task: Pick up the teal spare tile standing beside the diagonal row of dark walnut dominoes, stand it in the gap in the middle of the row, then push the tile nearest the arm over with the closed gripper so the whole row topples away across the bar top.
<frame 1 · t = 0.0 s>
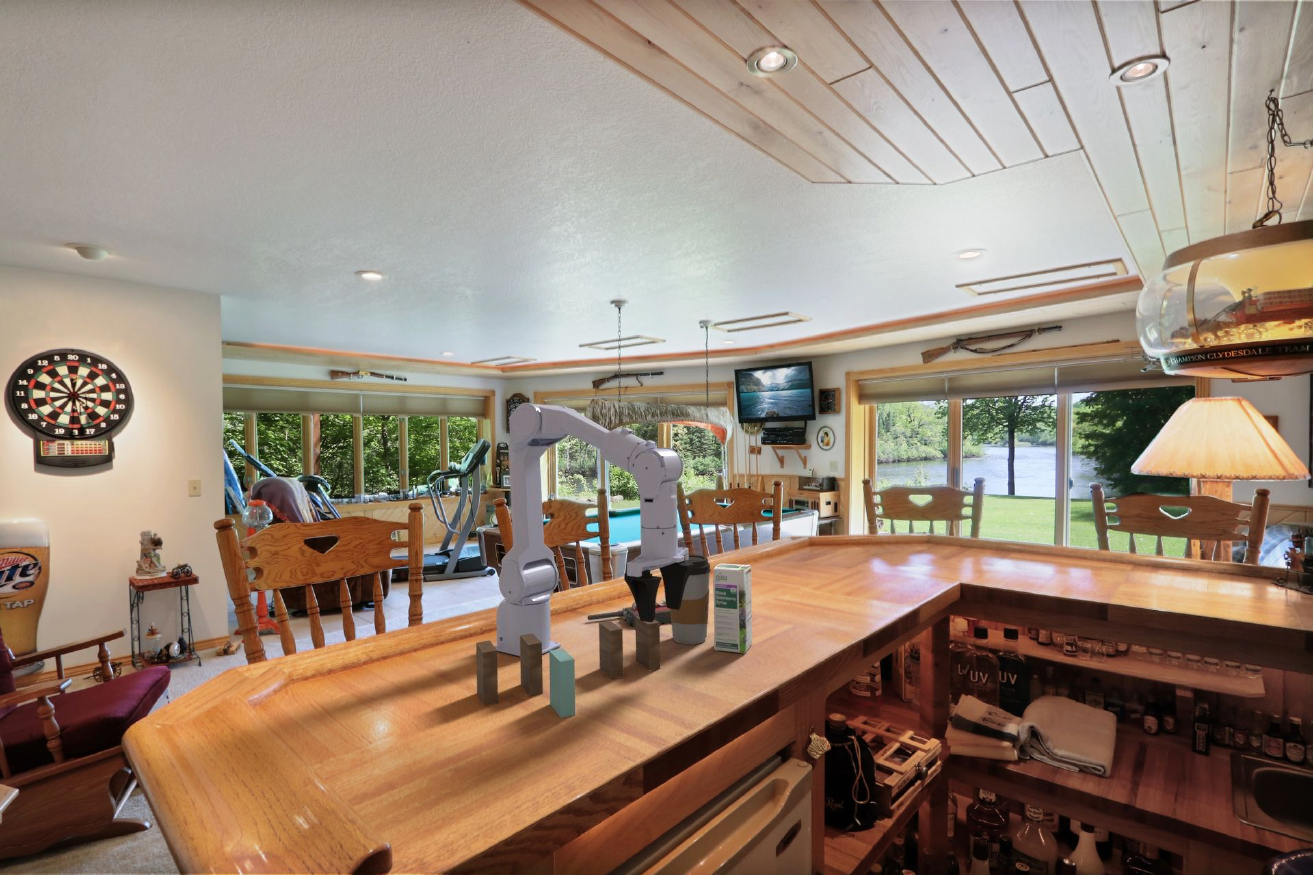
hand: (660, 614, 93), 10 cm above the bar counter, tool pointing down, fingers open, 7 cm apart
domino 2: (531, 688, 91), on the bar counter
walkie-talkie: (638, 623, 125), on the bar counter
domino 4: (611, 672, 97), on the bar counter
coffee cup: (689, 640, 112), on the bar counter
syrup box: (733, 648, 107), on the bar counter
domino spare: (562, 709, 84), on the bar counter
domino 5: (648, 664, 100), on the bar counter
domino 1: (487, 697, 88), on the bar counter
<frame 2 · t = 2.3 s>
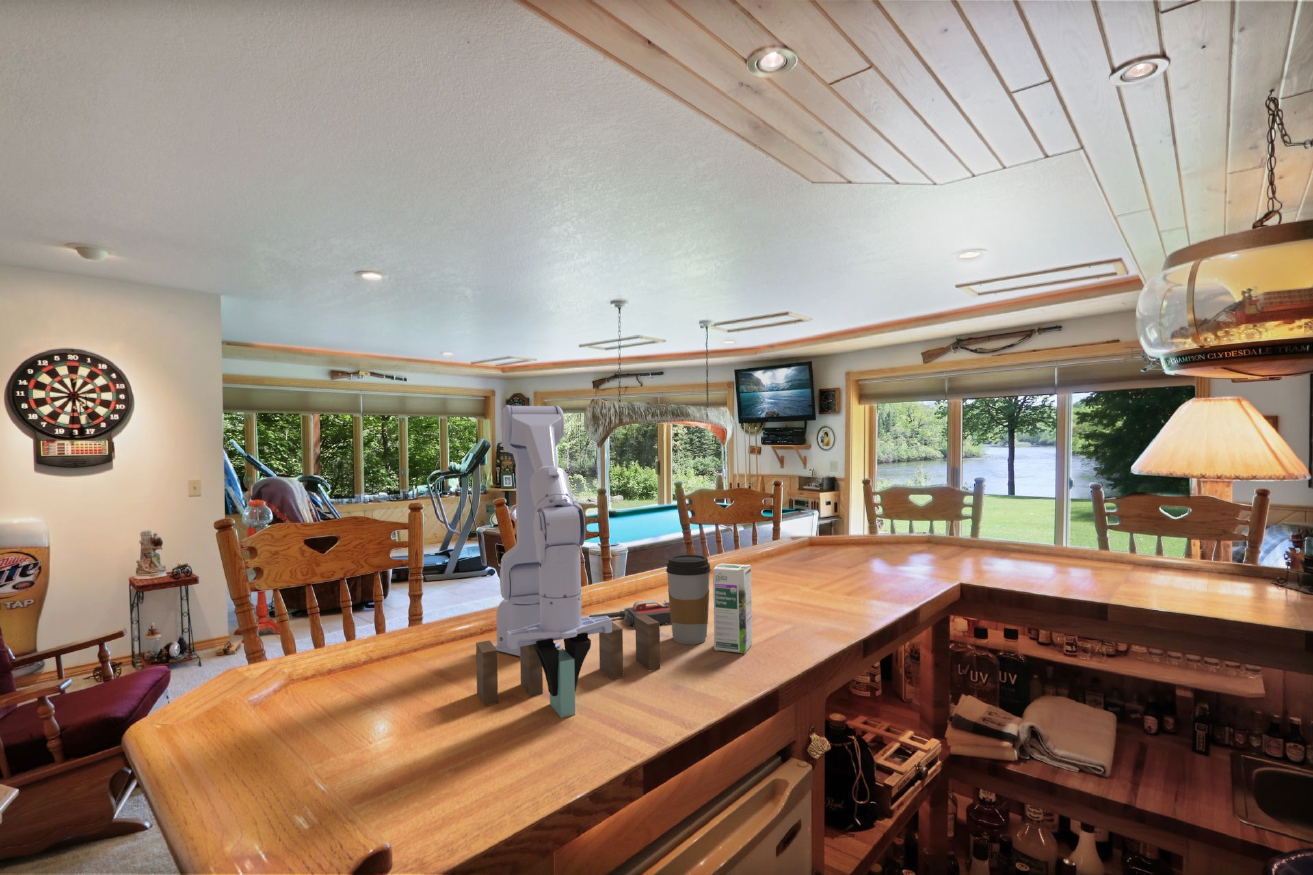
hand: (562, 691, 84), 2 cm above the bar counter, tool pointing down, fingers closed on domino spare, 2 cm apart
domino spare: (562, 708, 84), on the bar counter, touching gripper
everything else where it was.
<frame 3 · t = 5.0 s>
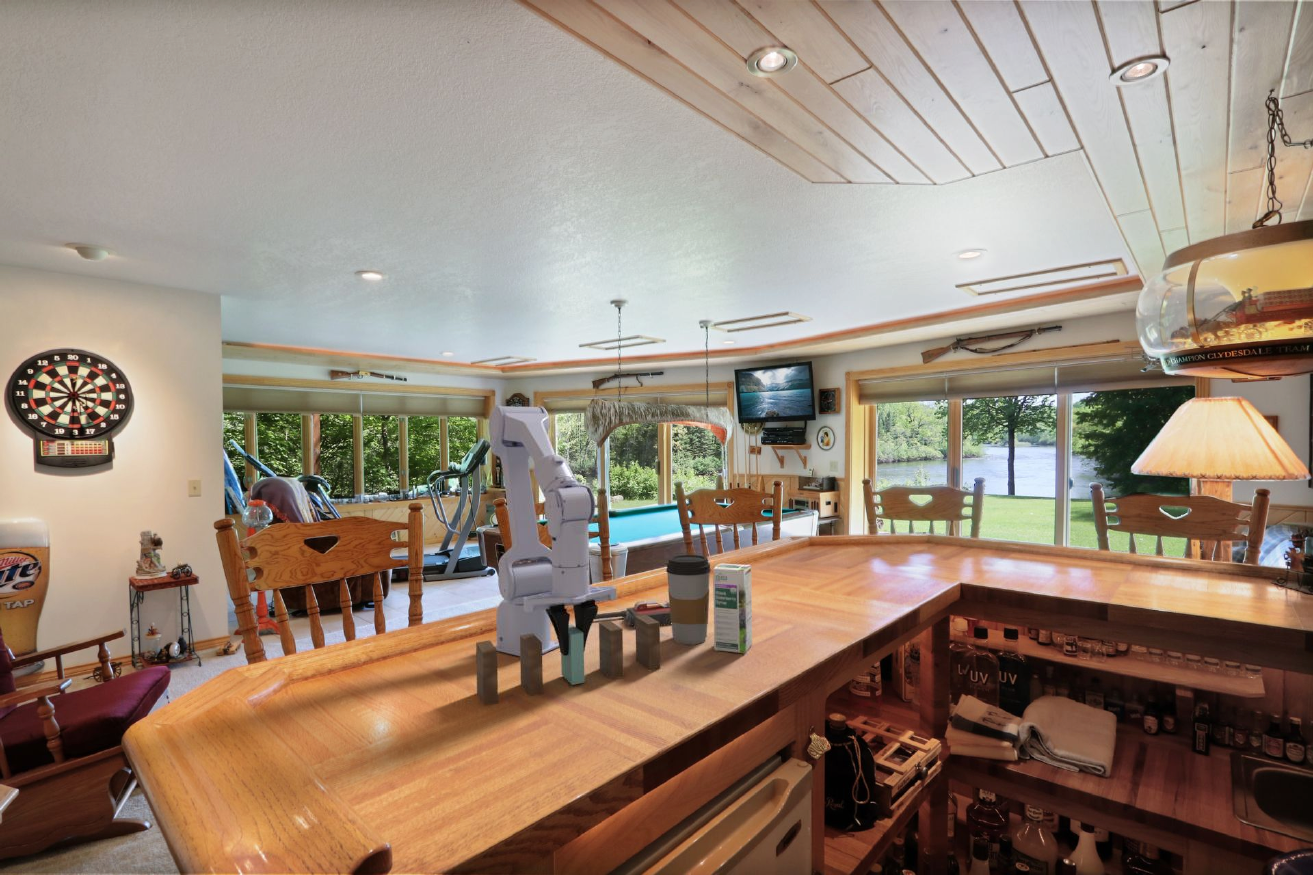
hand: (572, 651, 94), 4 cm above the bar counter, tool pointing down, fingers closed on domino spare, 2 cm apart
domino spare: (572, 678, 94), on the bar counter, touching gripper
everything else where it was.
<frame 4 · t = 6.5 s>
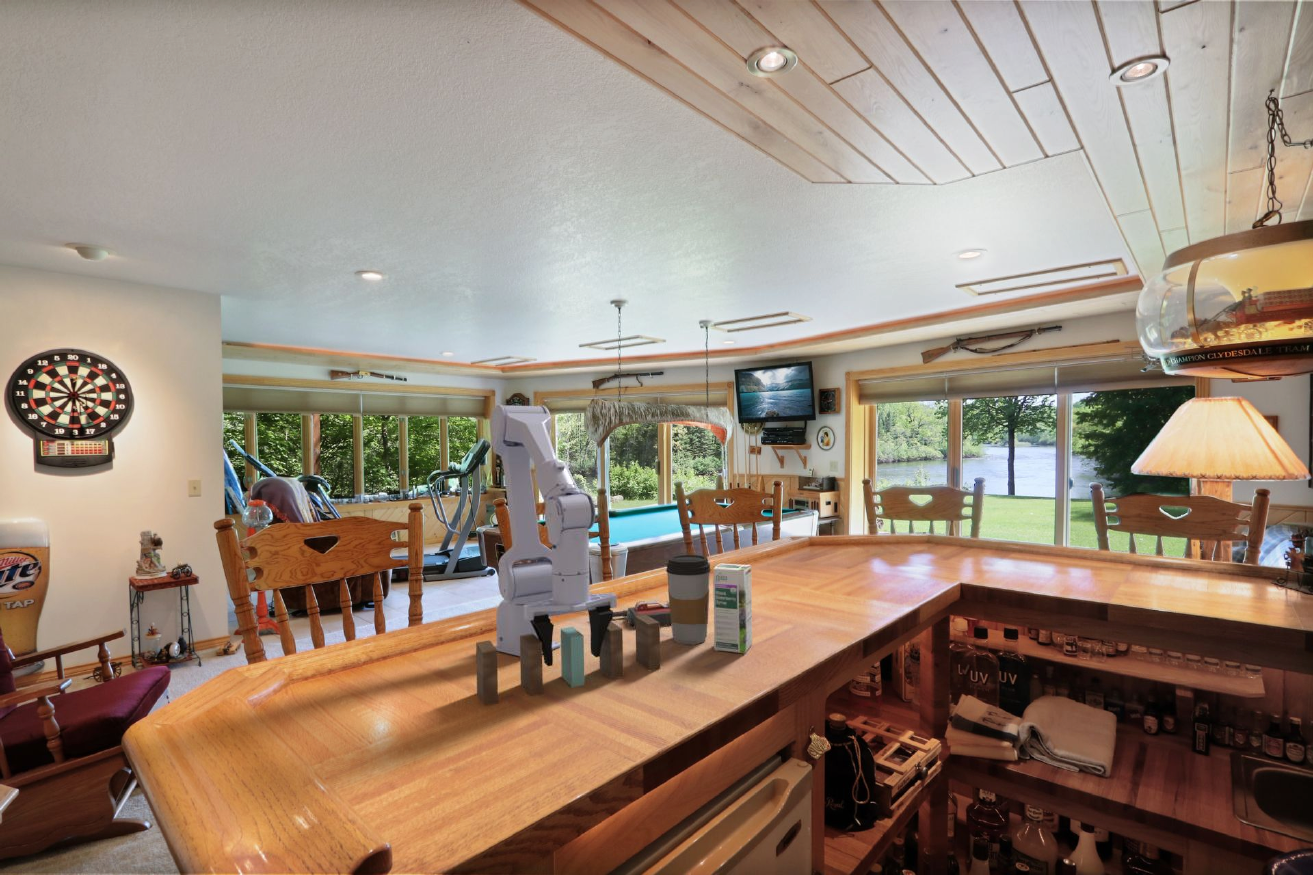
hand: (572, 659, 94), 3 cm above the bar counter, tool pointing down, fingers open, 7 cm apart
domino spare: (572, 680, 94), on the bar counter
everything else where it was.
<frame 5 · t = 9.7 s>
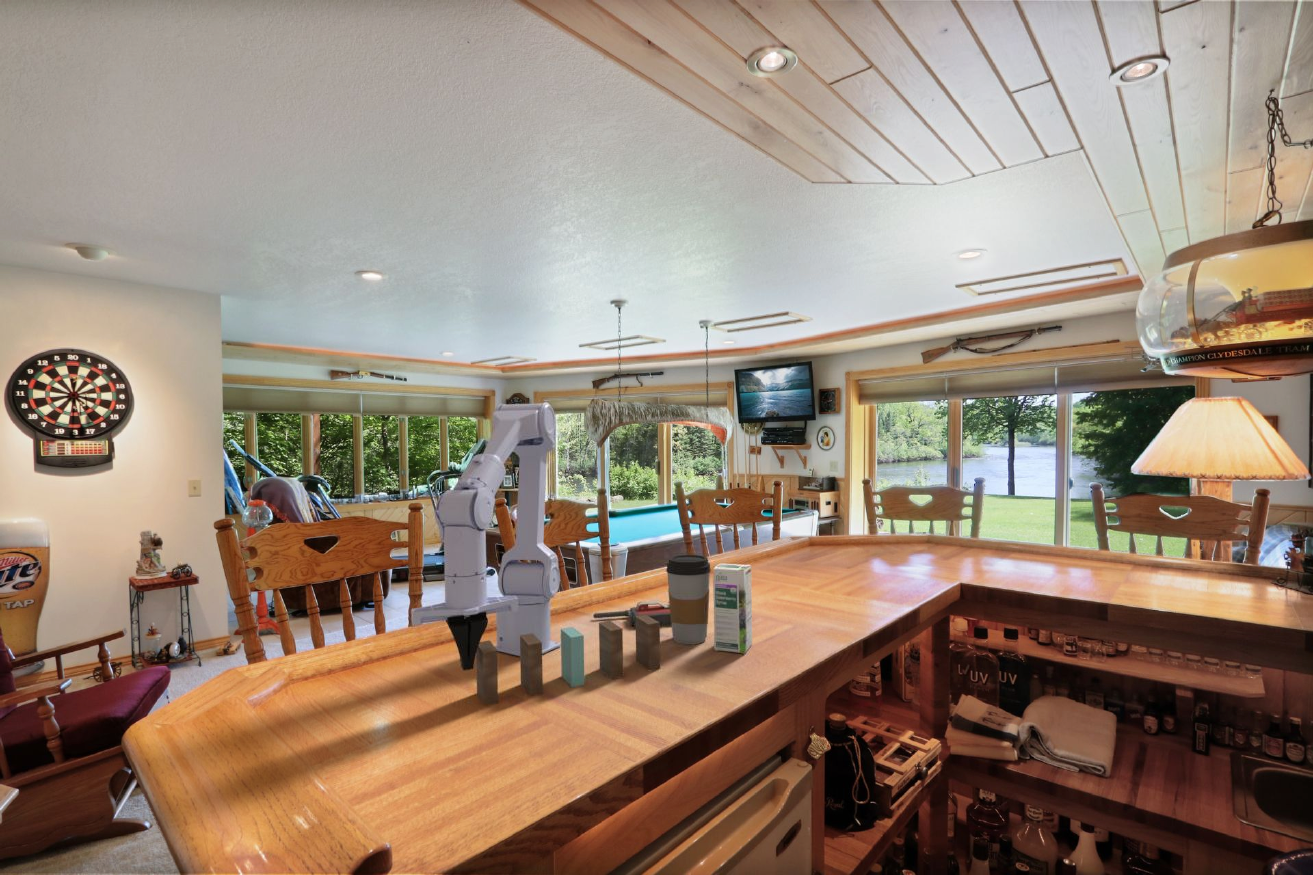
hand: (467, 667, 87), 5 cm above the bar counter, tool pointing down, fingers closed
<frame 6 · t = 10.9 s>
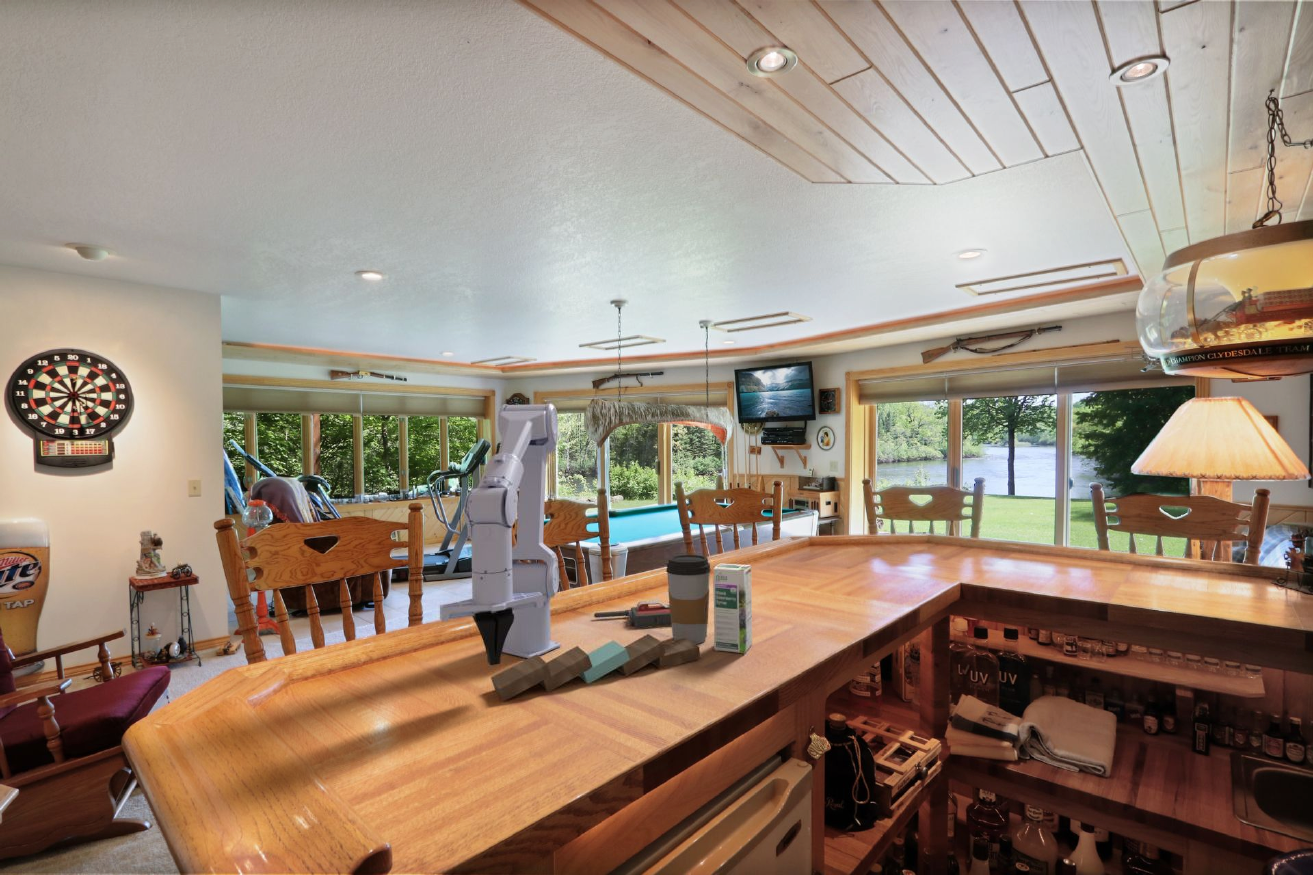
hand: (493, 662, 88), 5 cm above the bar counter, tool pointing down, fingers closed
domino 2: (541, 680, 92), point 1 cm above the bar counter, tilted 71°, touching domino 1, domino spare
domino 4: (617, 665, 97), point 1 cm above the bar counter, tilted 72°, touching domino 5, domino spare
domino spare: (580, 672, 94), point 1 cm above the bar counter, tilted 72°, touching domino 2, domino 4
domino 5: (653, 658, 100), point 1 cm above the bar counter, tilted 87°, touching domino 4
domino 1: (497, 689, 89), point 1 cm above the bar counter, tilted 73°, touching domino 2
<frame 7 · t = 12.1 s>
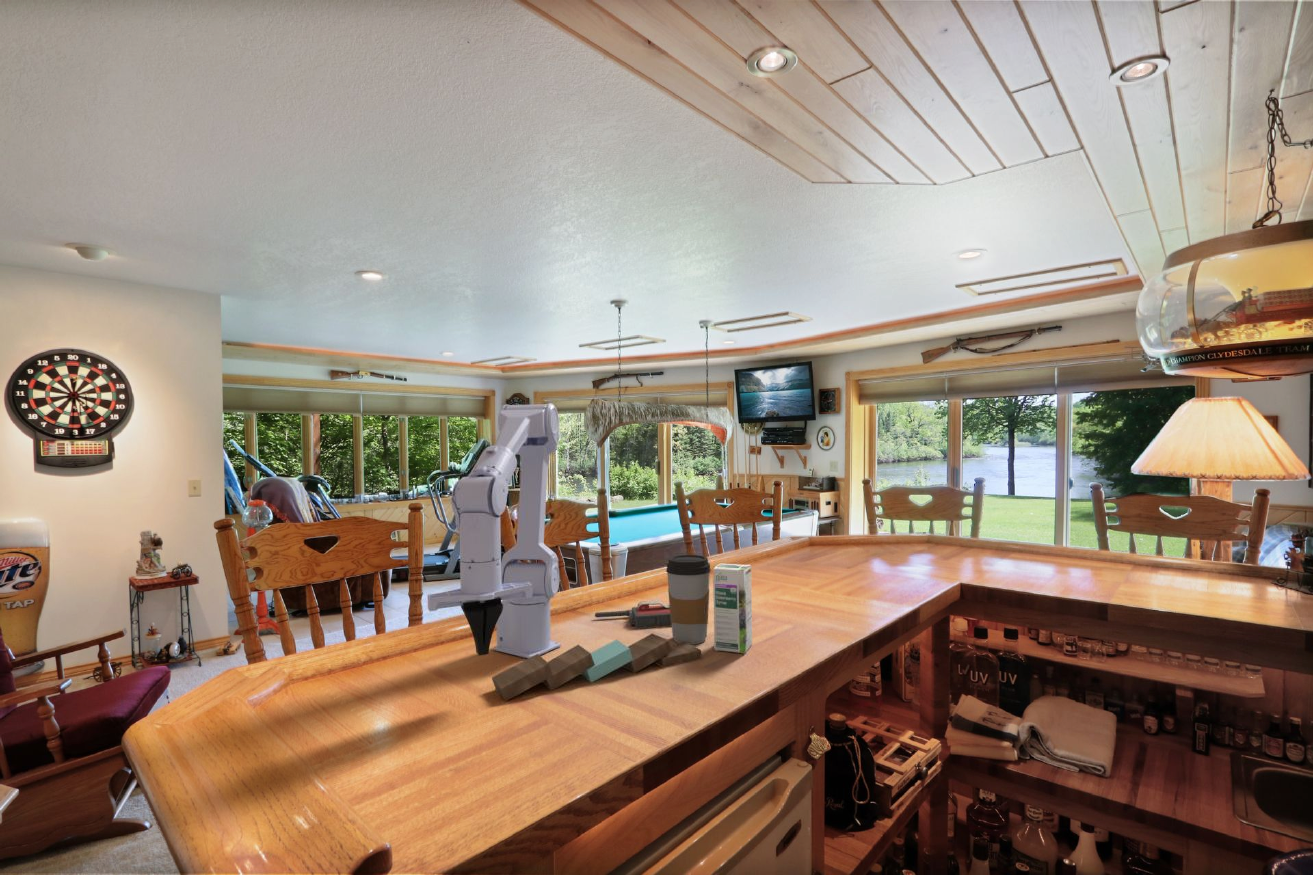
hand: (482, 652, 88), 7 cm above the bar counter, tool pointing down, fingers closed
domino 4: (625, 662, 98), point 1 cm above the bar counter, tilted 75°, touching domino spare
domino 5: (655, 659, 101), on the bar counter, tilted 90°
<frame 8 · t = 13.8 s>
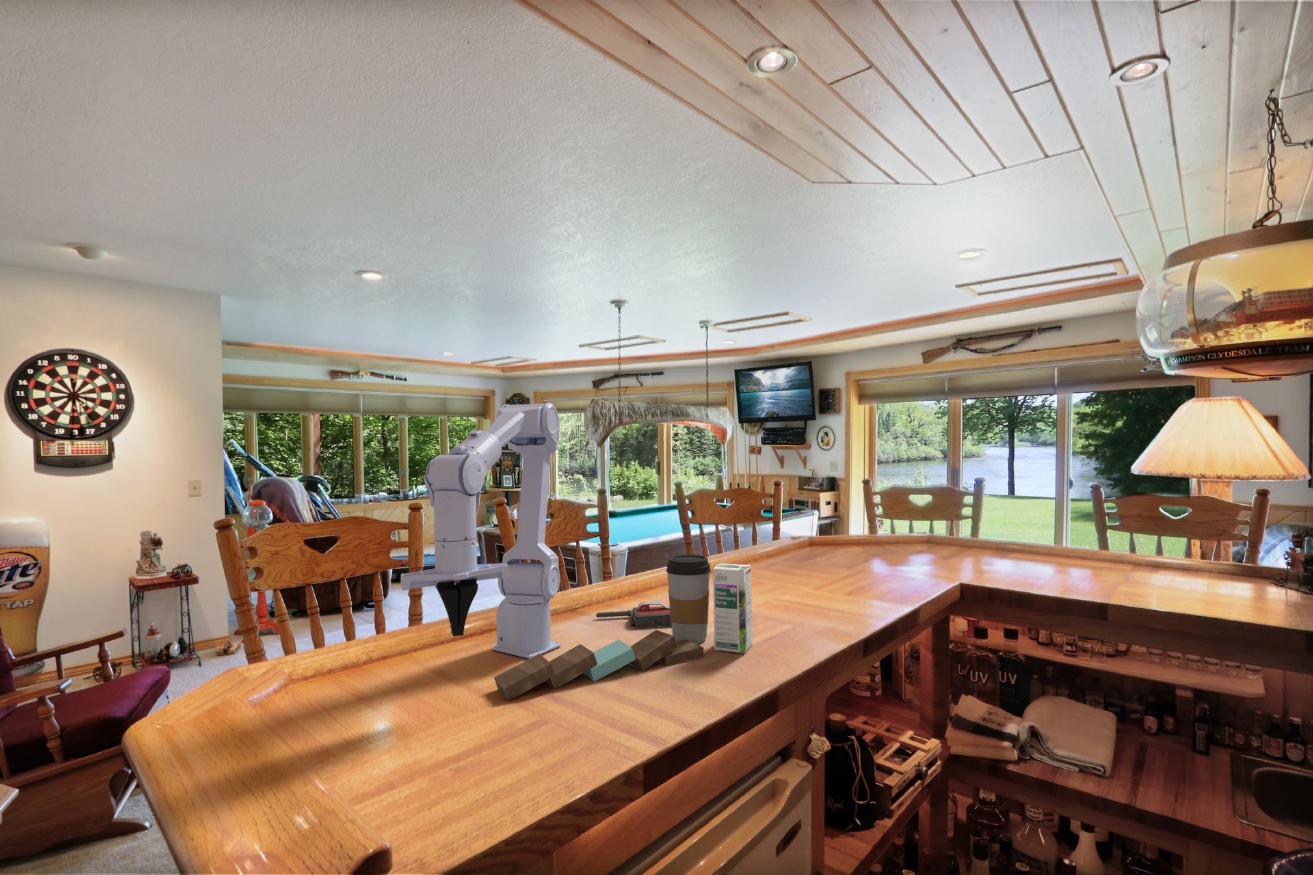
hand: (457, 633, 86), 10 cm above the bar counter, tool pointing down, fingers closed
domino 2: (546, 678, 92), point 1 cm above the bar counter, tilted 72°
domino 4: (632, 660, 99), point 1 cm above the bar counter, tilted 73°, touching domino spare
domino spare: (586, 670, 95), point 1 cm above the bar counter, tilted 75°, touching domino 4
domino 1: (500, 688, 89), point 1 cm above the bar counter, tilted 73°
at the end: domino 5 tilted 90°; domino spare tilted 75°; the gripper is holding nothing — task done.
